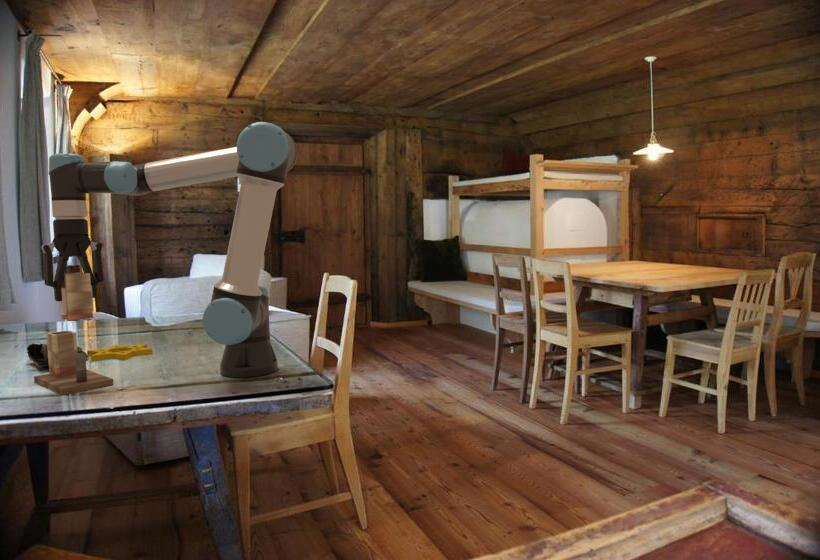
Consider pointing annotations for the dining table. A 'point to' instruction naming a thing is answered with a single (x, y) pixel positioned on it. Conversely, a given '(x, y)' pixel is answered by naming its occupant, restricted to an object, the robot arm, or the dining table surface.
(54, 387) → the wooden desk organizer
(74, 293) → the sleeve
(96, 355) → the star of david
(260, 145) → the robot arm
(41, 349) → the rock
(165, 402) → the dining table surface
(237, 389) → the dining table surface
